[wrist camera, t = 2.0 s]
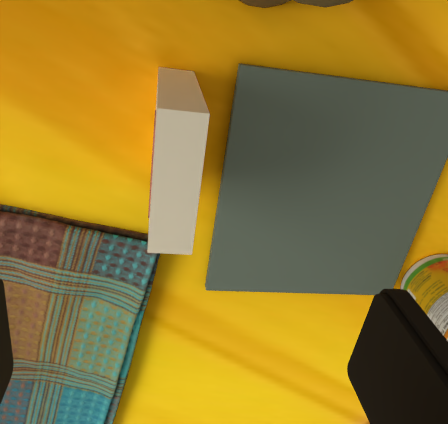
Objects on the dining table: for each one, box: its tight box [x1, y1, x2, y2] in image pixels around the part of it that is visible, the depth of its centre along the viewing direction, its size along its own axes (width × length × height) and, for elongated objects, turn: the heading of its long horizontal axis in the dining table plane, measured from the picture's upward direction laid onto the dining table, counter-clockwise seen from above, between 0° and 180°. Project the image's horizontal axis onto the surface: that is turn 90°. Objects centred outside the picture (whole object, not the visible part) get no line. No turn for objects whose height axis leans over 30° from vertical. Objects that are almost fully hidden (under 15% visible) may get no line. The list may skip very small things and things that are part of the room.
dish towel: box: [0, 204, 160, 424], centre depth 31 cm, size 17×23×2 cm
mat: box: [205, 63, 448, 295], centre depth 28 cm, size 16×15×1 cm
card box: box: [147, 67, 210, 255], centre depth 21 cm, size 6×2×9 cm, turn 172°
